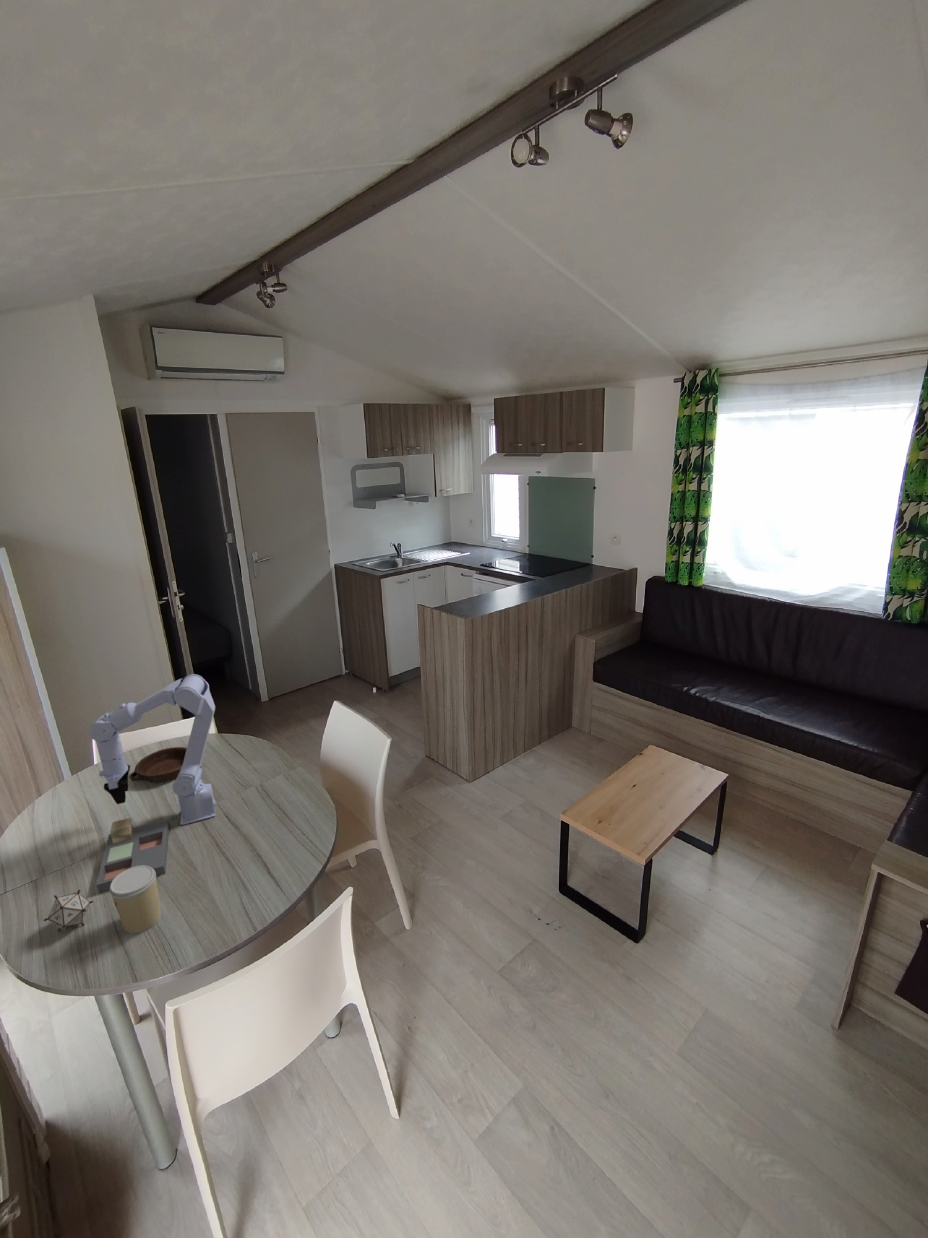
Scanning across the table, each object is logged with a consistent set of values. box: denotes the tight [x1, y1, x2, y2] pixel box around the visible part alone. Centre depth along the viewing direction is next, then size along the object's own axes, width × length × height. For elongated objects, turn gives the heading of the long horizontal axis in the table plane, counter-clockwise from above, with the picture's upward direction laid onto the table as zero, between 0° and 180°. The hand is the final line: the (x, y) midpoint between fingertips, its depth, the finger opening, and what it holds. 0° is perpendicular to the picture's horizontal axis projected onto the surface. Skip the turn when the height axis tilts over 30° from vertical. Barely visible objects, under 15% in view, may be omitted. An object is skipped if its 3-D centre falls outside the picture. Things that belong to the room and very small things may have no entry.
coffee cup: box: [108, 865, 162, 934], centre depth 131 cm, size 9×9×12 cm
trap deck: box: [96, 818, 170, 894], centre depth 153 cm, size 15×21×2 cm
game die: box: [42, 889, 94, 933], centre depth 131 cm, size 9×8×10 cm
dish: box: [129, 746, 187, 784], centre depth 192 cm, size 18×22×5 cm
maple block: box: [109, 817, 134, 844], centre depth 157 cm, size 4×4×4 cm
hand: (122, 797), depth 164 cm, fingers open, 5 cm apart
